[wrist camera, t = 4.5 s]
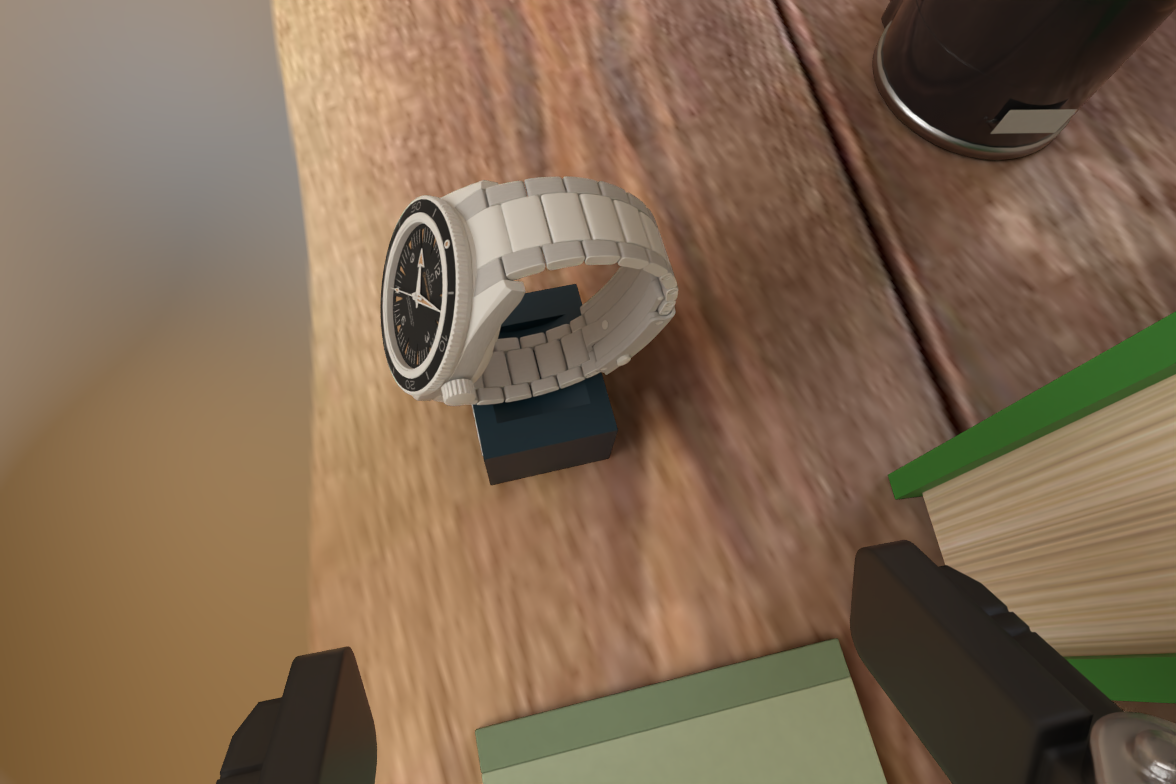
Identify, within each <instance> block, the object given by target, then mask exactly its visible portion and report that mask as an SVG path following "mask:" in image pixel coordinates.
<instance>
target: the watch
mask: <svg viewBox="0 0 1176 784" xmlns="http://www.w3.org/2000/svg"><path fill="white" fill-rule="evenodd" d="M525 187H526V191H527V194H526V191H525ZM525 187H524V183H523V182H522V181H514V182H508V183H504V184H499V185H498V183H496V182H492V181H487V180H483V181H480V182H477V183H474V184H471V185H469V186H466V187H463V188H461V189H458V190H456V191H454V192H452V193H450V194H448V195H446V196H444V197H442V198H439V197H434V196H429V195H424V196H420V197H418V198H416V199H415V200H413V201H412V202H411V203H410V204H409V205H408V206H407V208H406V209H405V210H404V212H403V213H402V215H401V217H400V219H399V221H398V222H397V225H396V227H395V229H394V232H393V235H392V238H391V241H390V244H389V248H388V251H387V255H386V260H385V265H384V271H383V279H382V288H381V329H382V338H383V344H384V350H385V354H386V358H387V362H388V365H389V368H390V371H391V373H392V376H393V377H394V379H395V381H396V382H397V384H398V386H399V387H400V388H401V389H402V390H403V391H404V392H405V393H407V394H409V395H412V396H413V398H415V399H416V400H418V401H430V400H434V401H439V402H444V404H446V405H449V406H461V405H472V408H473V413H474V418H475V423H476V428H477V433H478V438H479V442H480V445H481V446H480V447H481V452H482V456H483V457H484V462H485V465H486V469H487V473H488V477H489V481H490V484H491V485H494V484H499V483H503V482H508V481H512V480H516V479H521V478H525V477H529V476H534V475H538V474H543V473H547V472H551V471H556V470H560V469H564V468H569V467H573V466H578V465H582V464H586V463H591V462H595V461H600V460H604V459H608V458H609V456H610V453H611V450H612V447H613V444H614V441H615V438H616V434H617V431H618V429H617V425H616V422H615V418H614V415H613V411H612V408H611V404H610V401H609V397H608V394H607V390H606V387H605V383H604V380H603V376H602V373H601V372H603V373H605V374H606V375H607V374H609V373H610V372H612V371H613V370H615V369H616V368H618V367H619V366H622V365H624V364H626V363H628V362H629V361H630V360H631V357H633V356H634V355H635V354H637V353H638V352H639V351H640V350H641V349H643V348H644V347H645V346H646V345H647V344H648V343H649V342H650V341H652V340H653V339H654V338H655V337H656V336H657V335H658V334H659V332H660V331H661V330H662V329H663V328H664V327H665V326H666V325H667V324H668V323H669V321H670V320H671V319H672V318H673V316H674V315H675V313H676V312H675V303H676V299H677V296H678V287H677V282H676V279H675V276H674V273H673V270H672V267H671V264H670V261H669V258H668V255H667V252H666V250H665V247H664V244H663V241H662V238H661V235H660V232H659V230H658V227H657V224H656V221H655V218H654V216H653V214H652V213H651V211H650V210H649V209H648V208H646V205H645V204H644V203H643V202H642V201H641V200H639V199H638V198H637V197H635V196H634V195H632V194H630V193H626V192H625V190H624V189H622V188H619V187H617V186H615V185H612V184H609V183H606V182H603V181H599V182H597V181H595V180H592V179H587V178H580V177H568V176H567V177H564V178H563V180H562V178H561V177H540V178H531V179H526V180H525ZM527 195H528V197H527ZM541 204H542V205H541ZM543 211H544V212H543ZM546 222H547V223H546ZM549 233H550V234H549ZM551 240H552V241H551ZM542 253H543V254H544V258H545V261H544V258H543V254H542ZM583 261H585V264H587V265H611V264H615V263H616V262H618V265H619V266H621V267H620V268H619V269H618V271H617V272H616V273H615V274H614V276H613V277H612V278H611V279H610V280H609V281H608V282H607V283H606V284H605V285H604V286H603V287H602V288H601V289H600V290H599V291H598V292H597V293H596V294H595V295H594V296H593V297H592V298H590V299H589V300H588V301H587V302H586V303H585V304H583V305H582V302H581V299H580V295H579V292H578V288H577V285H576V284H573V285H567V286H562V287H557V288H551V289H546V290H541V291H535V292H530V293H525V288H524V284H523V282H519V281H513V280H517V279H520V278H523V277H526V276H529V275H533V274H537V273H540V272H542V271H543V270H544V269H545V262H546V266H547V268H548V269H549V270H556V269H561V268H566V267H572V266H578V265H580V264H582V263H583Z"/></svg>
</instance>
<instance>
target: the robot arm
mask: <svg viewBox="0 0 1176 784" xmlns="http://www.w3.org/2000/svg"><path fill="white" fill-rule="evenodd" d="M1175 9H1176V0H890V2H889V4H888V6H887V8H886V10H885V12H884V14H883V16H882V18H881V20H882V23H883V25H884V28H885V30H884V32H883V34H882V36H881V38H880V39H879V41H878V43H877V45H876V48H875V51H874V55H873V74H874V79H875V82H876V85H877V88H878V90H879V92H880V94H881V96H882V98H883V100H884V101H885V103H886V104H887V106H888V107H889V108H890V110H891V111H892V112H893V113H894V114H895V116H896V117H897V118H898V119H899V120H900V121H901V122H903V123H904V124H905V125H906V126H907V127H908V128H910V129H911V130H912V131H914V132H915V133H916V134H918V135H919V136H921V137H922V138H924V139H926V140H927V141H929V142H931V143H933V144H935V145H937V146H939V147H941V148H944V149H946V150H949V151H952V152H954V153H957V154H961V155H964V156H969V157H974V158H980V159H991V160H1003V159H1013V158H1018V157H1023V156H1026V155H1029V154H1032V153H1034V152H1036V151H1038V150H1040V149H1042V148H1043V147H1045V146H1046V145H1048V144H1049V143H1050V142H1051V141H1052V140H1053V139H1054V138H1055V137H1056V136H1057V135H1058V134H1059V133H1060V132H1061V131H1062V130H1063V129H1064V128H1065V127H1066V125H1067V124H1068V123H1069V121H1070V119H1071V117H1072V116H1073V115H1074V114H1075V113H1076V112H1077V111H1078V110H1079V109H1080V108H1081V107H1082V106H1083V105H1084V104H1085V103H1086V102H1087V101H1088V100H1089V98H1090V97H1091V96H1092V95H1093V94H1094V93H1095V92H1096V91H1097V90H1098V89H1099V88H1100V87H1101V86H1102V85H1103V84H1104V83H1105V82H1106V81H1107V80H1108V79H1109V78H1110V77H1111V75H1112V74H1114V73H1115V72H1116V71H1117V70H1118V69H1119V68H1120V67H1121V66H1122V64H1123V63H1124V62H1125V61H1126V60H1127V59H1128V58H1129V57H1130V56H1131V55H1132V54H1133V53H1134V52H1135V51H1136V50H1137V49H1138V48H1139V47H1140V46H1141V45H1142V44H1143V42H1144V41H1145V40H1146V39H1147V38H1148V37H1149V36H1150V35H1151V34H1152V33H1153V32H1154V31H1155V30H1156V29H1157V28H1158V27H1159V26H1160V25H1161V24H1162V23H1163V22H1164V20H1165V19H1166V18H1167V17H1168V16H1169V15H1170V14H1171V13H1172V12H1173V11H1174V10H1175ZM850 630H851V635H852V639H853V642H854V645H855V648H856V650H857V652H858V654H859V656H860V658H861V660H862V661H863V663H864V664H865V666H866V667H867V668H868V670H869V671H870V672H871V674H872V675H873V676H874V678H875V679H876V681H877V682H878V683H879V685H880V686H881V687H882V689H883V690H884V691H885V693H886V694H887V695H888V697H889V698H890V699H891V701H892V702H893V704H894V705H895V706H896V708H897V709H898V710H899V712H900V713H901V714H902V716H903V717H904V718H905V720H906V721H907V723H908V724H909V725H910V727H911V728H912V729H913V731H914V732H915V733H916V735H917V736H918V737H919V739H920V740H921V741H922V743H923V744H924V746H925V747H926V748H927V750H928V751H929V752H930V754H931V755H932V756H933V758H934V759H935V760H936V762H937V763H938V765H939V766H940V767H941V769H942V770H943V771H944V773H945V774H946V775H947V777H948V778H949V779H950V781H951V782H952V784H1176V724H1174V723H1172V722H1169V721H1167V720H1164V719H1162V718H1158V717H1155V716H1152V715H1147V714H1142V713H1135V712H1124V711H1123V710H1122V709H1120V708H1119V707H1118V706H1117V705H1116V704H1115V703H1114V702H1112V701H1111V700H1110V699H1109V698H1108V697H1107V696H1106V695H1105V694H1104V693H1102V692H1101V691H1100V690H1099V689H1098V688H1097V687H1096V686H1095V685H1094V684H1093V683H1091V682H1090V681H1089V680H1088V679H1087V678H1086V677H1085V676H1084V675H1083V674H1081V673H1080V672H1079V671H1078V670H1077V669H1076V668H1075V667H1074V666H1073V665H1071V664H1070V663H1069V662H1068V661H1067V660H1066V659H1065V658H1064V657H1063V656H1061V655H1060V654H1059V653H1058V652H1057V651H1056V650H1055V649H1054V648H1053V647H1052V646H1050V645H1049V644H1048V643H1047V642H1046V641H1045V640H1044V639H1043V638H1042V637H1040V636H1039V635H1038V634H1037V633H1036V632H1031V631H1030V628H1029V626H1028V625H1027V624H1026V623H1025V622H1024V621H1023V620H1022V619H1021V618H1019V617H1018V616H1017V615H1016V614H1015V613H1014V612H1009V611H1008V608H1007V606H1006V605H1005V604H1004V603H1003V602H1002V601H1001V600H999V599H998V598H997V597H996V596H995V595H994V594H993V593H992V592H991V591H990V590H988V589H987V588H986V587H985V586H984V585H983V584H982V583H980V582H978V581H976V580H975V579H973V578H971V577H969V576H967V575H965V574H963V573H961V572H959V571H957V570H955V569H954V568H952V567H950V566H948V565H944V566H939V567H938V566H937V565H936V564H935V563H934V562H932V561H931V560H930V559H929V558H928V557H927V556H926V555H925V554H924V553H923V552H922V551H921V550H920V549H919V548H918V547H917V546H916V545H914V544H913V543H912V542H910V541H907V540H900V541H895V542H890V543H884V544H879V545H874V546H869V547H864V548H861V549H859V550H858V552H857V553H856V557H855V565H854V577H853V589H852V601H851V613H850ZM376 765H377V742H376V732H375V725H374V721H373V717H372V713H371V710H370V707H369V703H368V700H367V696H366V693H365V689H364V686H363V683H362V679H361V676H360V672H359V669H358V666H357V662H356V659H355V656H354V653H353V651H352V649H351V648H350V647H342V648H337V649H332V650H327V651H322V652H317V653H312V654H306V655H302V656H297V657H296V658H295V659H294V660H293V662H292V665H291V668H290V672H289V676H288V679H287V682H286V686H285V689H284V693H283V696H282V697H281V698H277V699H272V700H267V701H262V702H258V704H257V705H256V706H255V708H254V709H253V710H252V712H251V713H250V714H249V715H248V717H247V718H246V719H245V721H244V722H243V723H242V725H241V726H240V727H239V728H238V730H237V731H236V732H235V734H234V735H233V736H232V739H231V742H230V745H229V748H228V751H227V754H226V757H225V759H224V762H223V765H222V768H221V771H220V775H221V776H220V779H219V780H217V782H216V784H375V775H376Z"/></svg>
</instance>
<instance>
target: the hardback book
mask: <svg viewBox="0 0 1176 784" xmlns="http://www.w3.org/2000/svg"><path fill="white" fill-rule="evenodd" d="M888 477H889V480H890V484H891V487H892V490H893V493H894V497H895V500H896V499H904V498H912V497H920V496H923V497H924V500H925V503H926V507H927V510H928V513H929V516H930V519H931V522H932V525H933V528H934V531H935V535H936V538H937V541H938V544H939V547H940V550H941V553H942V556H943V559H944V563H945V565H948V566H950V567H952V568H954V569H955V570H957V571H959V572H961V573H963V574H965V575H967V576H969V577H971V578H973V579H975V580H976V581H978V582H980V583H982V584H983V585H984V586H985V587H986V588H987V589H988V590H990V591H991V592H992V593H993V594H994V595H995V596H996V597H997V598H998V599H999V600H1001V601H1002V602H1003V603H1004V604H1005V605H1006V606H1007V608H1008V611H1009V612H1014V613H1015V614H1016V615H1017V616H1018V617H1019V618H1021V619H1022V620H1023V621H1024V622H1025V623H1026V624H1027V625H1028V626H1029V628H1030V631H1031V632H1036V633H1037V634H1038V635H1039V636H1040V637H1042V638H1043V639H1044V640H1045V641H1046V642H1047V643H1048V644H1049V645H1050V646H1052V647H1053V648H1054V649H1055V650H1056V651H1057V652H1058V653H1059V654H1060V655H1061V656H1063V657H1064V658H1065V659H1066V660H1067V661H1068V662H1069V663H1070V664H1071V665H1073V666H1074V667H1075V668H1076V669H1077V670H1078V671H1079V672H1080V673H1081V674H1083V675H1084V676H1085V677H1086V678H1087V679H1088V680H1089V681H1090V682H1091V683H1093V684H1094V685H1095V686H1096V687H1097V688H1098V689H1099V690H1100V691H1101V692H1102V693H1104V694H1105V695H1106V696H1107V697H1108V698H1109V699H1110V700H1117V701H1138V702H1159V703H1176V312H1174V313H1172V314H1170V315H1169V316H1167V317H1165V318H1163V319H1162V320H1160V321H1158V322H1156V323H1155V324H1153V325H1151V326H1149V327H1148V328H1146V329H1144V330H1142V331H1140V332H1139V333H1137V334H1135V335H1133V336H1132V337H1130V338H1128V339H1126V340H1125V341H1123V342H1121V343H1119V344H1118V345H1116V346H1114V347H1112V348H1111V349H1109V350H1107V351H1105V352H1103V353H1102V354H1100V355H1098V356H1096V357H1095V358H1093V359H1091V360H1089V361H1088V362H1086V363H1084V364H1082V365H1081V366H1079V367H1077V368H1075V369H1074V370H1072V371H1070V372H1068V373H1067V374H1065V375H1063V376H1061V377H1059V378H1058V379H1056V380H1054V381H1052V382H1051V383H1049V384H1047V385H1045V386H1044V387H1042V388H1040V389H1038V390H1037V391H1035V392H1033V393H1031V394H1030V395H1028V396H1026V397H1024V398H1022V399H1021V400H1019V401H1017V402H1015V403H1014V404H1012V405H1010V406H1008V407H1007V408H1005V409H1003V410H1001V411H1000V412H998V413H996V414H994V415H993V416H991V417H989V418H987V419H986V420H984V421H982V422H980V423H978V424H977V425H975V426H973V427H971V428H970V429H968V430H966V431H964V432H963V433H961V434H959V435H957V436H956V437H954V438H952V439H950V440H949V441H947V442H945V443H943V444H941V445H940V446H938V447H936V448H934V449H933V450H931V451H929V452H927V453H926V454H924V455H922V456H920V457H919V458H917V459H915V460H913V461H912V462H910V463H908V464H906V465H905V466H903V467H901V468H899V469H897V470H896V471H894V472H892V473H890V474H889V475H888Z"/></svg>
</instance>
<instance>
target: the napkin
mask: <svg viewBox="0 0 1176 784" xmlns="http://www.w3.org/2000/svg"><path fill="white" fill-rule="evenodd" d="M475 735H476V741H477V748H478V754H479V761H480V768H481V772H482V781H483V784H887V781H886V778H885V775H884V772H883V770H882V767H881V764H880V761H879V758H878V755H877V752H876V749H875V746H874V743H873V740H872V737H871V734H870V731H869V728H868V725H867V722H866V720H865V717H864V714H863V711H862V708H861V705H860V702H859V699H858V696H857V693H856V690H855V687H854V684H853V681H852V678H851V677H850V672H849V670H848V667H847V664H846V661H845V658H844V655H843V652H842V649H841V646H840V643H839V640H838V639H837V638H835V639H830V640H826V641H822V642H818V643H814V644H810V645H806V646H802V647H798V648H794V649H790V650H786V651H782V652H778V653H774V654H771V655H767V656H763V657H759V658H755V659H751V660H747V661H743V662H739V663H735V664H731V665H727V666H723V667H719V668H715V669H711V670H707V671H704V672H700V673H696V674H692V675H688V676H684V677H680V678H676V679H672V680H668V681H664V682H660V683H656V684H652V685H648V686H644V687H640V688H636V689H633V690H629V691H625V692H621V693H617V694H613V695H609V696H605V697H601V698H597V699H593V700H589V701H585V702H581V703H577V704H573V705H569V706H565V707H562V708H558V709H554V710H550V711H546V712H542V713H538V714H534V715H530V716H526V717H522V718H518V719H514V720H510V721H506V722H502V723H498V724H494V725H491V726H487V727H483V728H479V729H476V730H475Z"/></svg>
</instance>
